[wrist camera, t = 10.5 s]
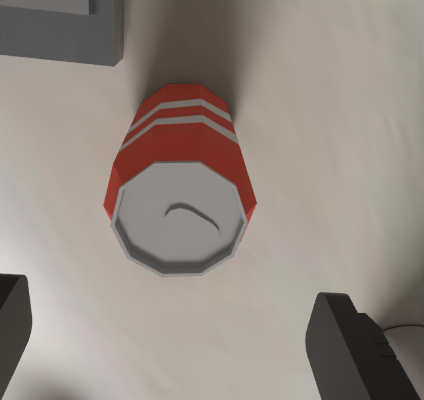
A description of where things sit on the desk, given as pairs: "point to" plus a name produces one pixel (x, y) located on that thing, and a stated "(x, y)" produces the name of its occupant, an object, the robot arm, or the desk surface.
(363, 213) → the desk surface
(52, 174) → the desk surface
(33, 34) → the socket plate
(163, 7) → the desk surface
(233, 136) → the beverage can
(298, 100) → the desk surface
